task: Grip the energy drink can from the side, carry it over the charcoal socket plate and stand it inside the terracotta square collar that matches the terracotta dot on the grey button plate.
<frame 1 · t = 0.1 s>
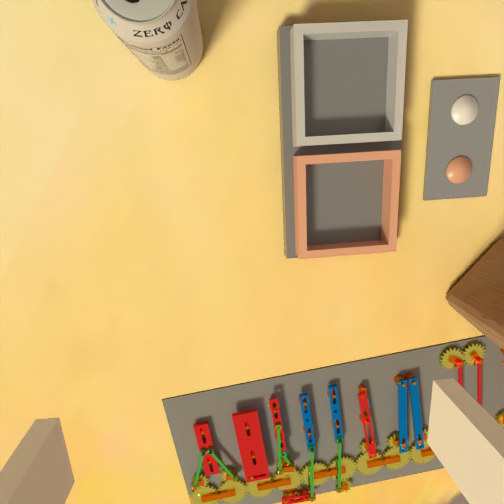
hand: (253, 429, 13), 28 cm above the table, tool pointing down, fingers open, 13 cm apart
wooden block: (494, 288, 44), on the table
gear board: (349, 423, 48), on the table
socket plate: (338, 148, 38), on the table
grey button plate: (458, 141, 39), on the table
energy drink can: (171, 48, 35), on the table
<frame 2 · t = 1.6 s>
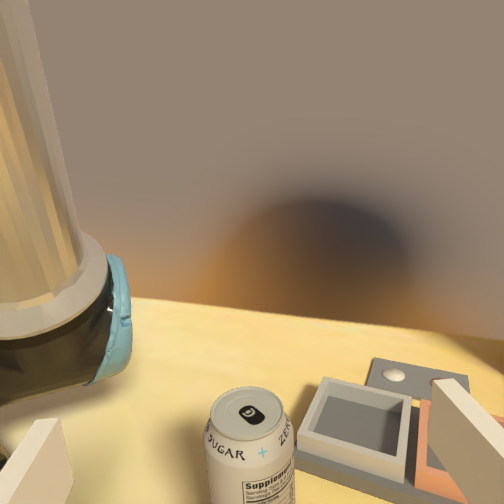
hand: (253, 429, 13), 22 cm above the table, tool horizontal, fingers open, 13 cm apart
socket plate: (411, 456, 38), on the table
grey button plate: (417, 382, 49), on the table
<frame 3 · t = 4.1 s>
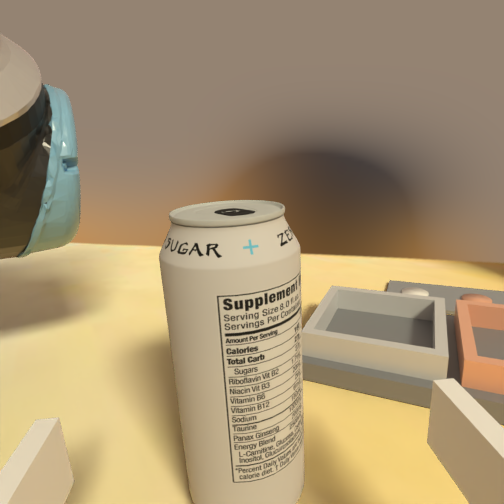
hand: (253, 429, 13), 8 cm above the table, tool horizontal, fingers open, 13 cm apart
socket plate: (448, 363, 29), on the table
grey button plate: (444, 300, 40), on the table
energy drink can: (248, 490, 20), on the table
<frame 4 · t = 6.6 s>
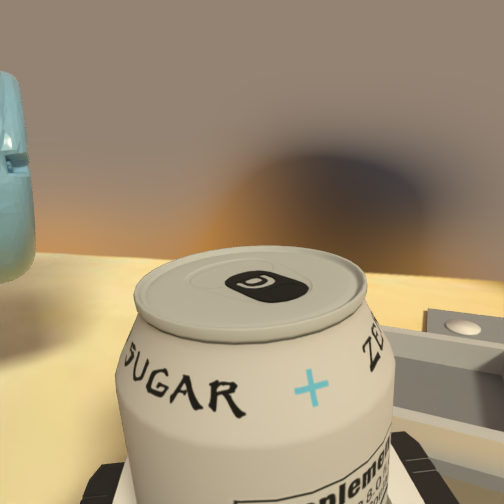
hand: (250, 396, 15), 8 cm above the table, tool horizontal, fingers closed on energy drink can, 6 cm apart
grey button plate: (501, 337, 33), on the table
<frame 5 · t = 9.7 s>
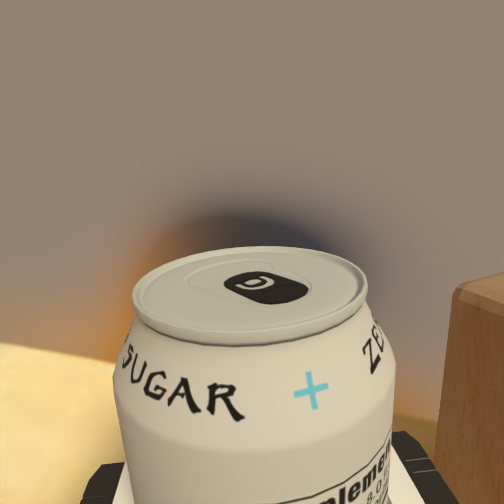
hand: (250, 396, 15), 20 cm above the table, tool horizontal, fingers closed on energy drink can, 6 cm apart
when the fingers open (10 cm above the table, at t = 12.9 s): energy drink can stays where it is, resting on socket plate.
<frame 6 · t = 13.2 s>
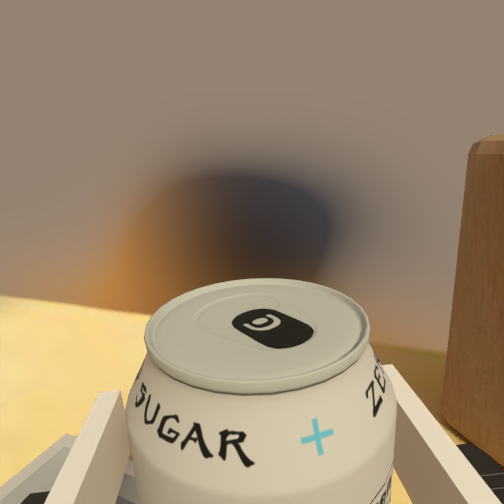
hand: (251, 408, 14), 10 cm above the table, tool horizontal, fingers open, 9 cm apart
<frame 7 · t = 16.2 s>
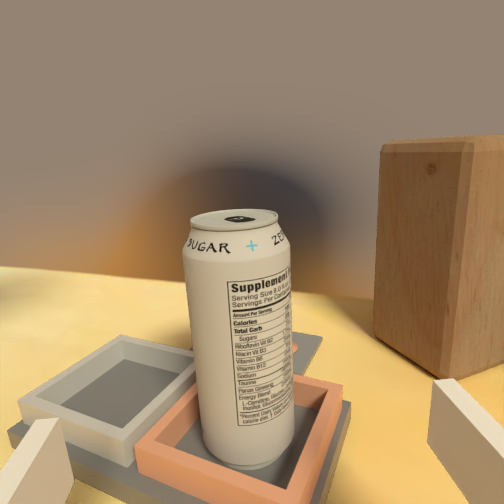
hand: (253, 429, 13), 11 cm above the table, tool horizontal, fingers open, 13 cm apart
wooden block: (442, 348, 37), on the table
socket plate: (184, 432, 27), on the table
grey button plate: (257, 346, 38), on the table
energy drink can: (249, 441, 24), point 1 cm above the table, touching socket plate
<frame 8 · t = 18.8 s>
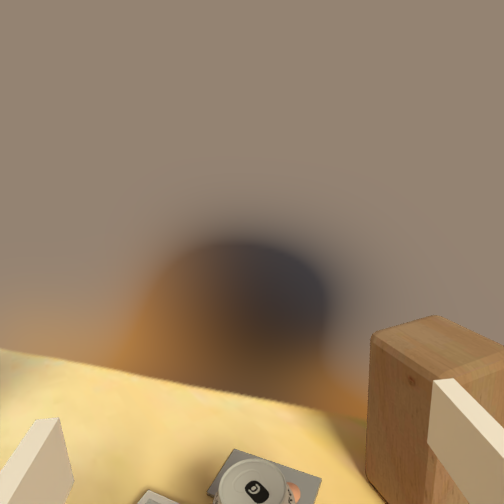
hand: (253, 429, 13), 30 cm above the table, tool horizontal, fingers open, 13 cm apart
wooden block: (424, 495, 42), on the table
grey button plate: (264, 487, 44), on the table
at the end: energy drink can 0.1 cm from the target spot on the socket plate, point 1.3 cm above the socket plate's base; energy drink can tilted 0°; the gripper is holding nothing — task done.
